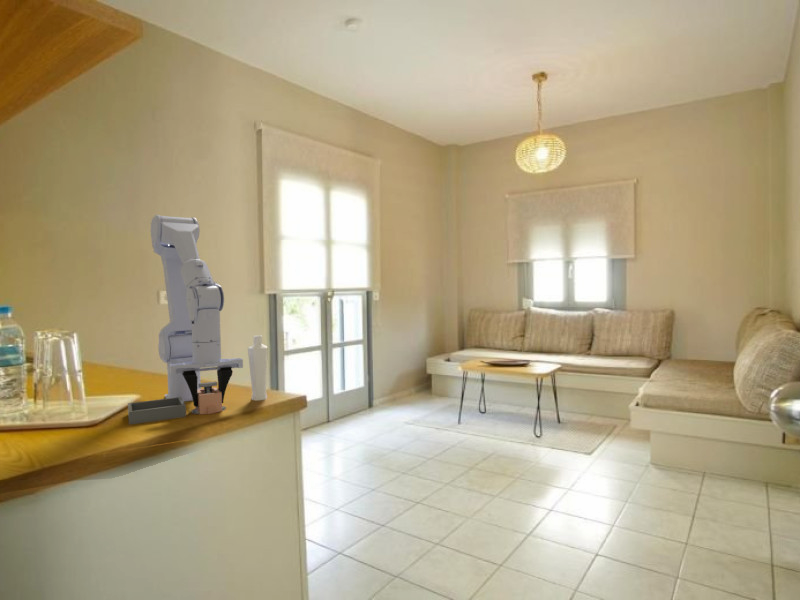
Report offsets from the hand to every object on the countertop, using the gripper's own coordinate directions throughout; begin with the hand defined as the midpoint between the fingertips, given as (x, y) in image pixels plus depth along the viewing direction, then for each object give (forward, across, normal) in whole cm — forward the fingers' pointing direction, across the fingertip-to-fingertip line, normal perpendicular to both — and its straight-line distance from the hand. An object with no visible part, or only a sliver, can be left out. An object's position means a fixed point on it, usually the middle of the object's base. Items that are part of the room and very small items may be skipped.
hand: (208, 404), depth 106 cm
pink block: (+1, 0, 0) cm, 1 cm away
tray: (+1, -10, +1) cm, 10 cm away
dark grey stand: (+1, 0, 0) cm, 1 cm away
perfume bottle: (+2, +12, +4) cm, 13 cm away
